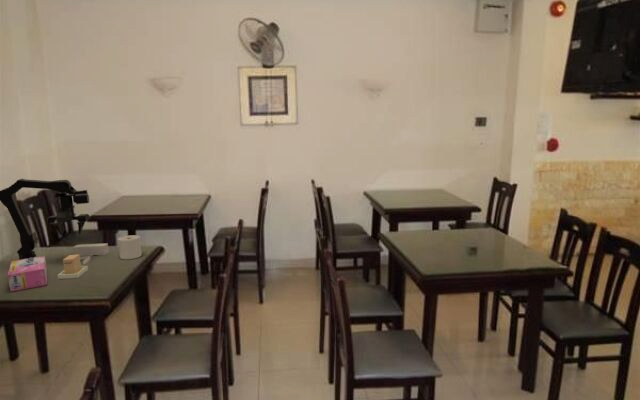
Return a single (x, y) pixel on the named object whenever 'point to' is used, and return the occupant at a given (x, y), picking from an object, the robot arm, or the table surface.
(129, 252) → the toilet tissue
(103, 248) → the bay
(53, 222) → the robot arm
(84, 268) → the tray
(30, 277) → the gum box
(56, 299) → the table surface
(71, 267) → the tan cuboid block
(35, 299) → the table surface
